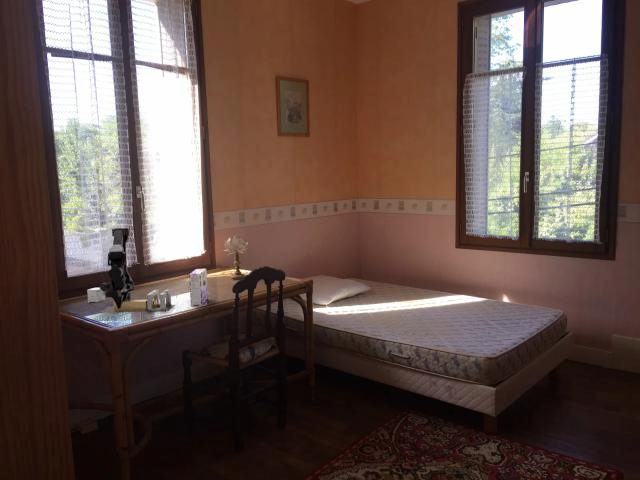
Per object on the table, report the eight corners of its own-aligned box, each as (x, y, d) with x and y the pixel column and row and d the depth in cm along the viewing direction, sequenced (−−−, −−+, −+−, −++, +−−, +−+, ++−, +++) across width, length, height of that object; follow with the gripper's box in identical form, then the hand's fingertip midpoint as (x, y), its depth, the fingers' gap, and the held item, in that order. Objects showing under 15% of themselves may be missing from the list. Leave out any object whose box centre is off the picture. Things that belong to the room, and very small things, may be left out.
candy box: (197, 299, 281) (195, 268, 279) (208, 299, 281) (207, 268, 279) (190, 306, 268) (188, 273, 266) (202, 305, 268) (200, 273, 265)
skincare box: (97, 304, 278) (96, 290, 277) (87, 303, 280) (86, 289, 279) (105, 301, 284) (104, 287, 283) (96, 300, 286) (95, 287, 285)
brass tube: (117, 308, 264) (116, 299, 263) (157, 307, 263) (157, 299, 262) (113, 310, 259) (113, 301, 259) (154, 309, 259) (154, 301, 258)
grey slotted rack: (108, 308, 268) (106, 290, 267) (175, 306, 267) (174, 289, 266) (97, 314, 256) (96, 296, 255) (168, 313, 255) (167, 294, 254)
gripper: (110, 272, 269) (112, 303, 271) (93, 280, 250) (95, 312, 252) (131, 272, 268) (134, 302, 270) (116, 279, 250) (119, 312, 252)
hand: (120, 307), depth 261 cm, fingers closed on brass tube, 4 cm apart
